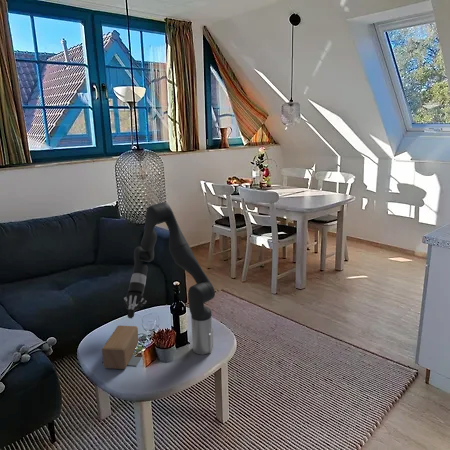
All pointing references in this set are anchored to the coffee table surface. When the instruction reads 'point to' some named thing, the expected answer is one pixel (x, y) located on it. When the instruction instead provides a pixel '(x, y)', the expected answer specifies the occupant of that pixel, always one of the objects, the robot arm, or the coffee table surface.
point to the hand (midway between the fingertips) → (130, 317)
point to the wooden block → (120, 347)
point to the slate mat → (133, 361)
